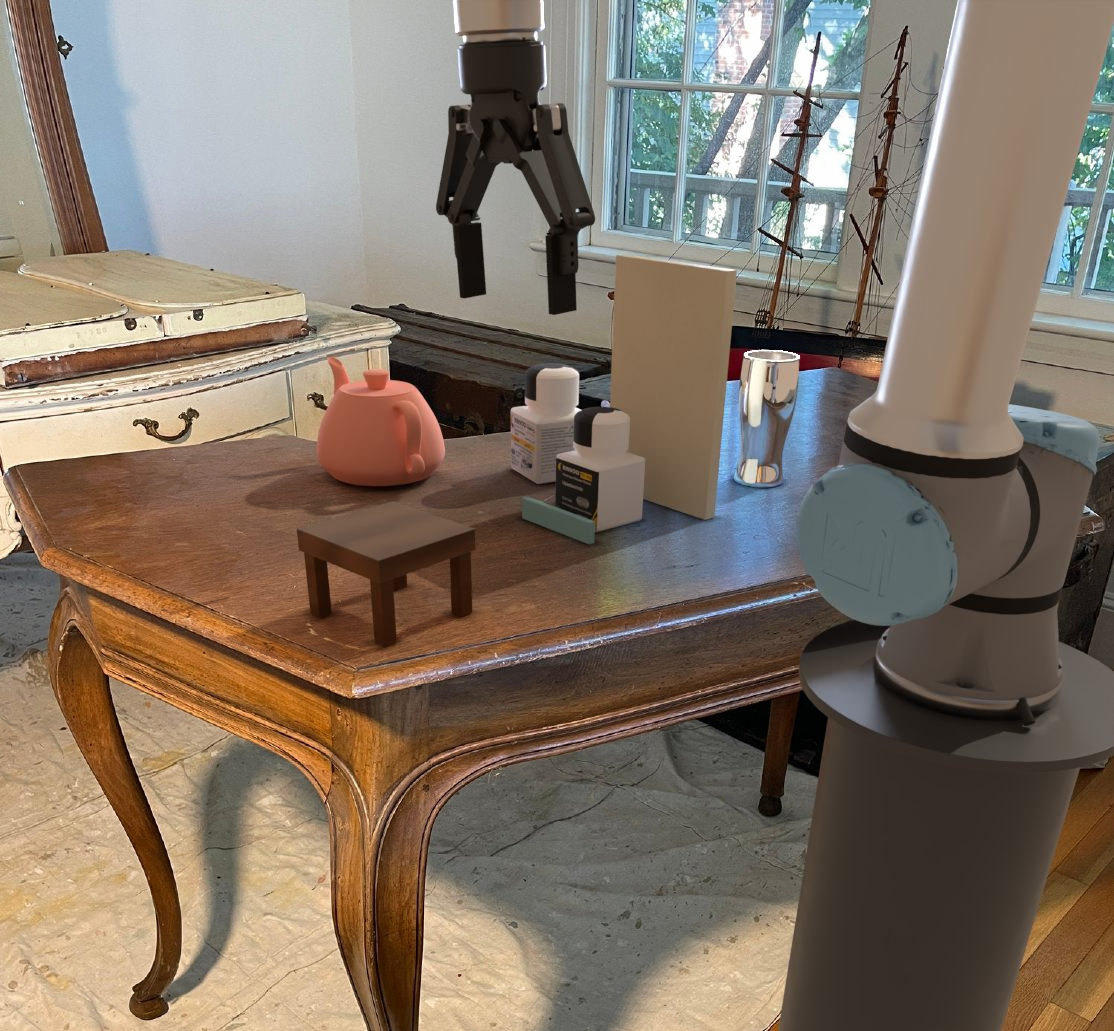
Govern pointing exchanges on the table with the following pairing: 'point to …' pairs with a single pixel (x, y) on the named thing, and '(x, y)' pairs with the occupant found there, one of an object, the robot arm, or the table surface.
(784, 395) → the beer glass
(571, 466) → the medicine bottle
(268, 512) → the table surface
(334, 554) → the stool
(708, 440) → the beige and grey slabs
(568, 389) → the container
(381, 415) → the teapot
